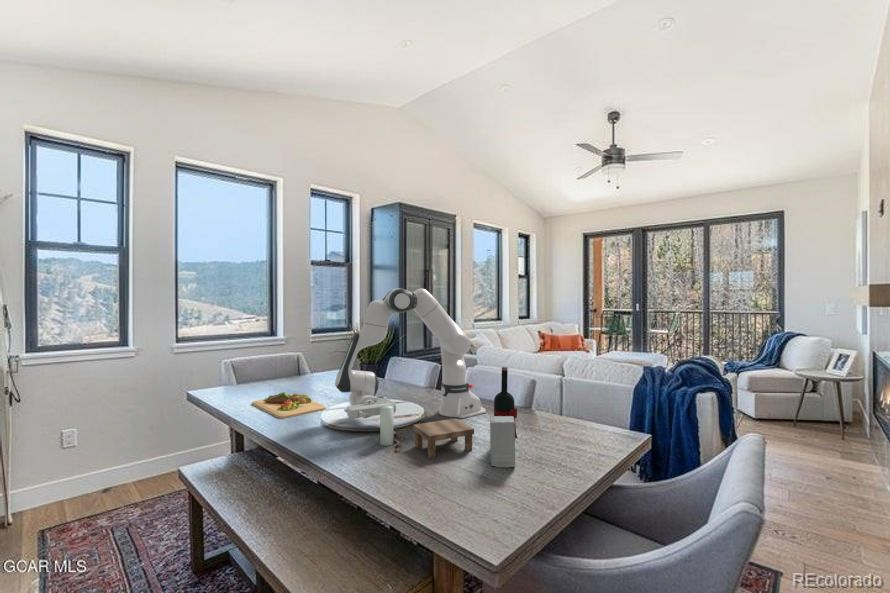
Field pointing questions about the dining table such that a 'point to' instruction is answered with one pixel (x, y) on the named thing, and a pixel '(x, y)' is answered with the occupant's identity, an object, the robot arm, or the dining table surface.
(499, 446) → the skincare box
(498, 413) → the wine bottle
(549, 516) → the dining table surface
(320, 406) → the cutting board
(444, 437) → the walnut stool
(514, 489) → the dining table surface
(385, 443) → the pale green cylinder
